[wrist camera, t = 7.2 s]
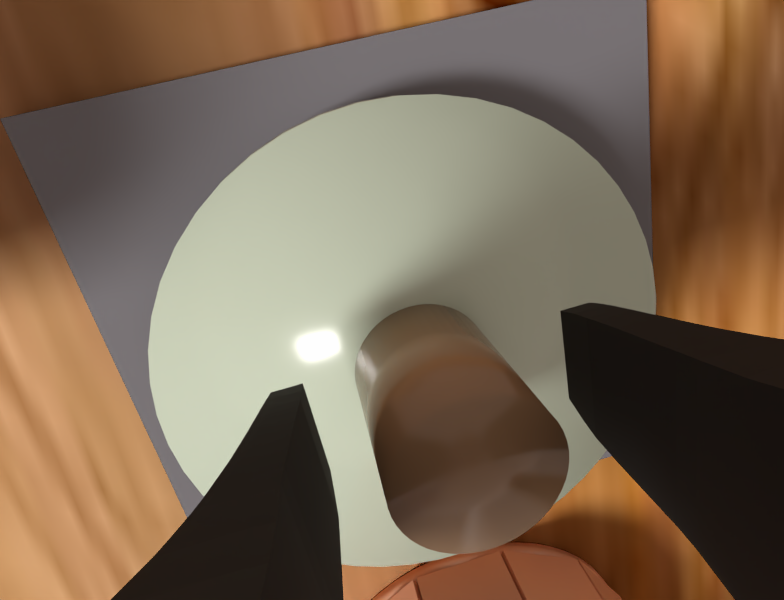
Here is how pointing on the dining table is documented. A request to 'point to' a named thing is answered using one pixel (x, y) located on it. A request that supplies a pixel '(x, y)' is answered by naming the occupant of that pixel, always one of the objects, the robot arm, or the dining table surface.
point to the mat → (292, 106)
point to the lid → (401, 315)
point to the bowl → (503, 577)
